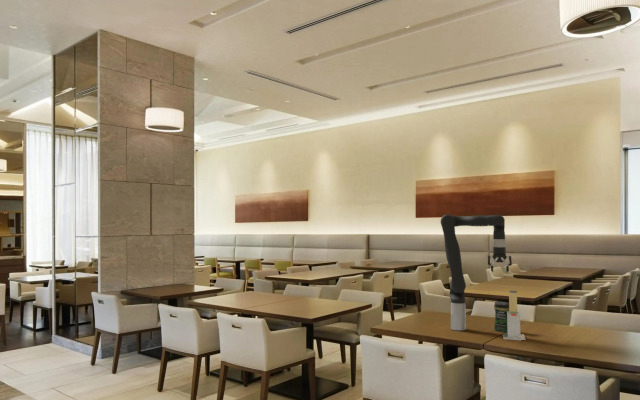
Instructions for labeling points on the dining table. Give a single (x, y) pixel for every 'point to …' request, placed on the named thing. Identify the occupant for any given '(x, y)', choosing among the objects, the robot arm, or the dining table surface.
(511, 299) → the post
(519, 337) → the stand
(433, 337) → the dining table surface
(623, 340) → the dining table surface
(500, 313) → the coffee jar
